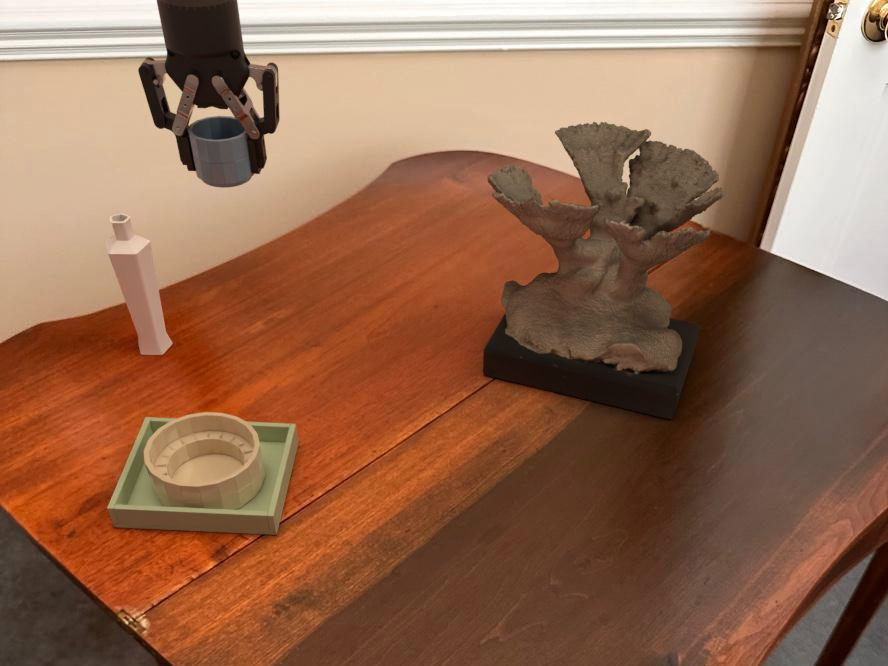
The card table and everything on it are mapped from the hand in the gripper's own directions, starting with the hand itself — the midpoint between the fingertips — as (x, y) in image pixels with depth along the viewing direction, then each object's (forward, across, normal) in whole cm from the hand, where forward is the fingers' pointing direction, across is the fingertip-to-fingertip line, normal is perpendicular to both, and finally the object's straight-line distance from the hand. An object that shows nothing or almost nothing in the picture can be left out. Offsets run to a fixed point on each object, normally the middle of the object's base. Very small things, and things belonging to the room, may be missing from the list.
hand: (225, 169), depth 95 cm
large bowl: (+15, -3, +34) cm, 37 cm away
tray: (+15, -3, +34) cm, 37 cm away
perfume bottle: (+15, +8, +12) cm, 21 cm away
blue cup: (+1, 0, 0) cm, 1 cm away
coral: (+15, -41, +8) cm, 44 cm away
